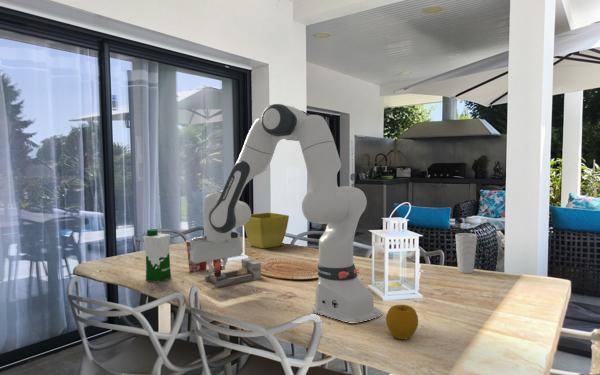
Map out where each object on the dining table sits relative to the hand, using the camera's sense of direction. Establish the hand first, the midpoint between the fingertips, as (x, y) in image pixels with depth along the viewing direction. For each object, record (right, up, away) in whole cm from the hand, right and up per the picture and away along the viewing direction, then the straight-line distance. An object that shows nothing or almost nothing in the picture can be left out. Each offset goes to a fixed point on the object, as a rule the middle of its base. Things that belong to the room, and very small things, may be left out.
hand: (217, 270), depth 165 cm
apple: (+59, -9, -48) cm, 77 cm away
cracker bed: (+5, -6, +4) cm, 8 cm away
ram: (0, -4, 0) cm, 4 cm away
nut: (+9, -4, +7) cm, 12 cm away
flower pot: (+13, -1, +74) cm, 75 cm away
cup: (+100, -4, +15) cm, 101 cm away
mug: (-12, -5, +23) cm, 26 cm away
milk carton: (-26, -6, +12) cm, 29 cm away
